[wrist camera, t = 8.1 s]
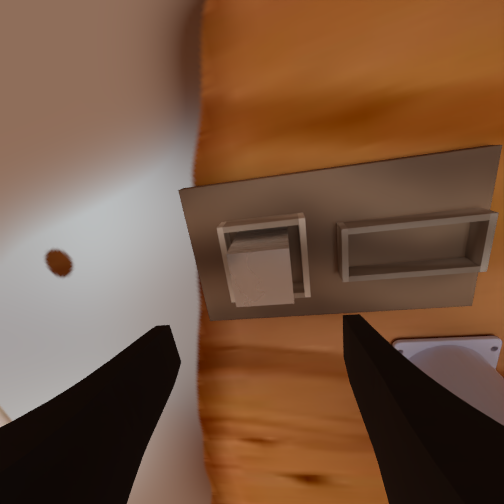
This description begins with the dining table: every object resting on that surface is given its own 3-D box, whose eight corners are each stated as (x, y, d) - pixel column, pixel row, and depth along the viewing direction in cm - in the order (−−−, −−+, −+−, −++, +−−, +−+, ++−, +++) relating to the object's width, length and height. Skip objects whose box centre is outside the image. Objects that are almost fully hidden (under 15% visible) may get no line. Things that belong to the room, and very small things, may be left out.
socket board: (462, 298, 20) (487, 318, 17) (213, 313, 23) (205, 332, 20) (489, 145, 16) (524, 144, 14) (183, 188, 19) (169, 193, 16)
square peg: (291, 270, 19) (294, 303, 15) (245, 274, 20) (236, 307, 16) (287, 225, 18) (289, 248, 14) (238, 230, 19) (226, 254, 14)
